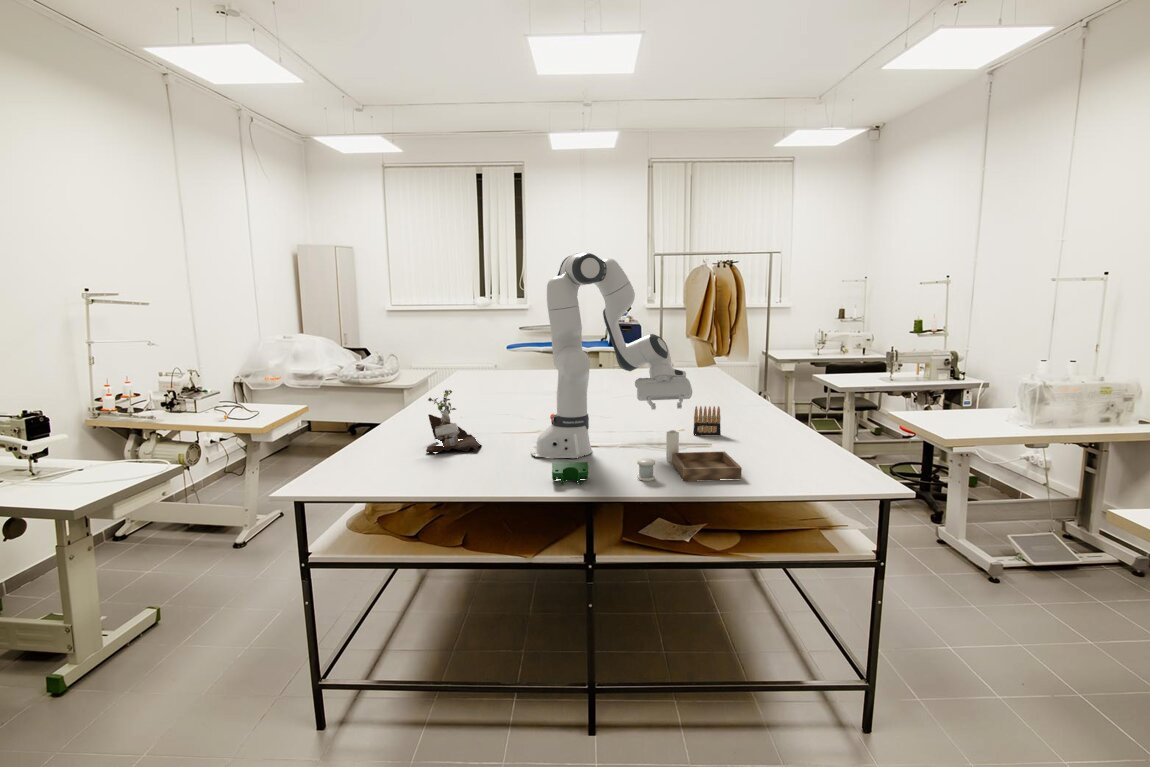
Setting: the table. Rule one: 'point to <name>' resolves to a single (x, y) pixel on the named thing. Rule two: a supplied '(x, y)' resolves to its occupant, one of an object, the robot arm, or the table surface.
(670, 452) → the grey tall block
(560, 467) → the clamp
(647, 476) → the small spool
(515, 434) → the table surface
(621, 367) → the robot arm
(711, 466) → the tray
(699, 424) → the ammunition clip
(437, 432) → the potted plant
